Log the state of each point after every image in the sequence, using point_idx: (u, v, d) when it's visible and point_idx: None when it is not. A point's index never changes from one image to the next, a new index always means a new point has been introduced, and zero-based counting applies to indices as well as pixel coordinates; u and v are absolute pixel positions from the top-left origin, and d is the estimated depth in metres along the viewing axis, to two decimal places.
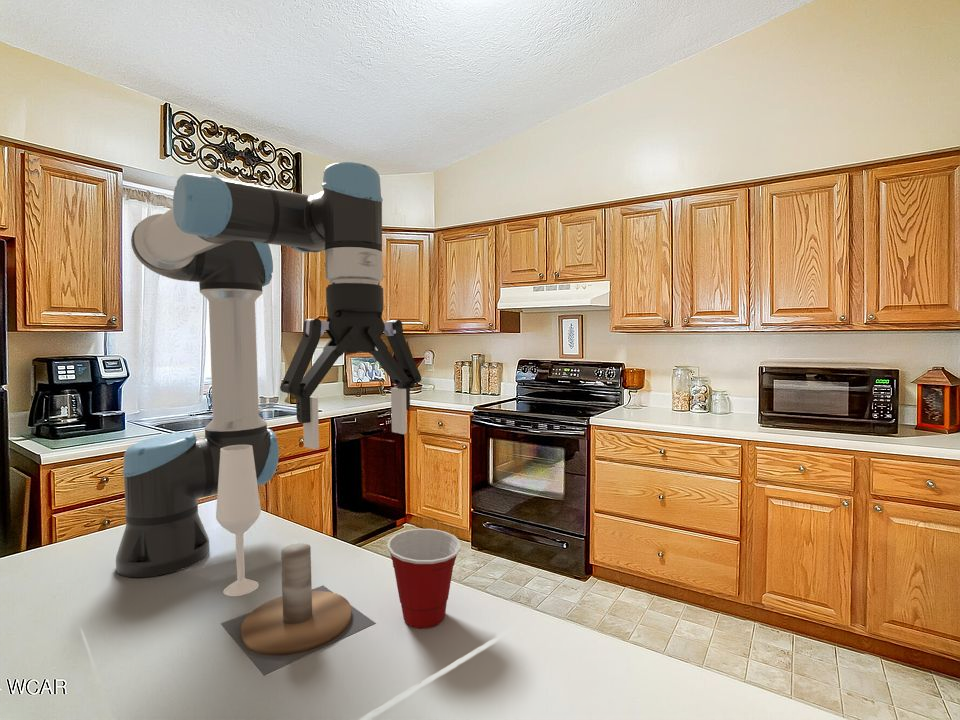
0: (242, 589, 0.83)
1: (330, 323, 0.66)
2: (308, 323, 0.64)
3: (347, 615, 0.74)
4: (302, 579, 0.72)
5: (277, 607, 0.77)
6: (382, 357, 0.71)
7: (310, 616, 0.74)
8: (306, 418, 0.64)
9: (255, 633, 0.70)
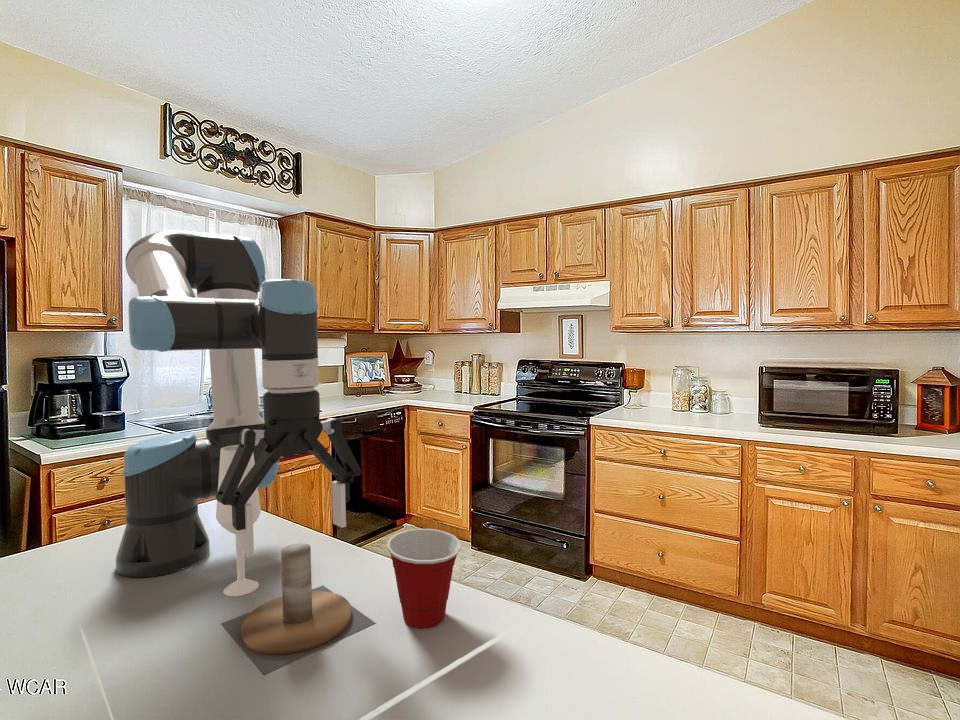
0: (242, 589, 0.83)
1: (265, 432, 0.69)
2: (243, 434, 0.68)
3: (347, 615, 0.74)
4: (302, 579, 0.72)
5: (277, 607, 0.77)
6: (320, 456, 0.75)
7: (310, 616, 0.74)
8: (241, 525, 0.67)
9: (255, 633, 0.70)
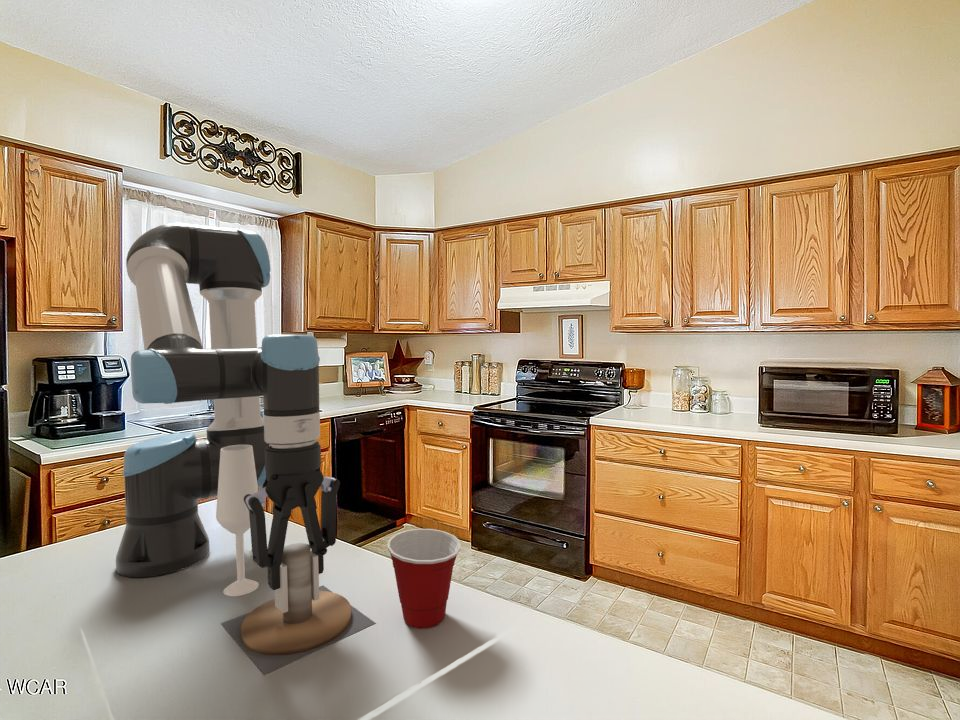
0: (242, 589, 0.83)
1: (266, 491, 0.70)
2: (247, 503, 0.69)
3: (347, 615, 0.74)
4: (302, 578, 0.72)
5: None
6: (307, 515, 0.74)
7: (310, 616, 0.74)
8: (276, 585, 0.71)
9: (255, 633, 0.70)
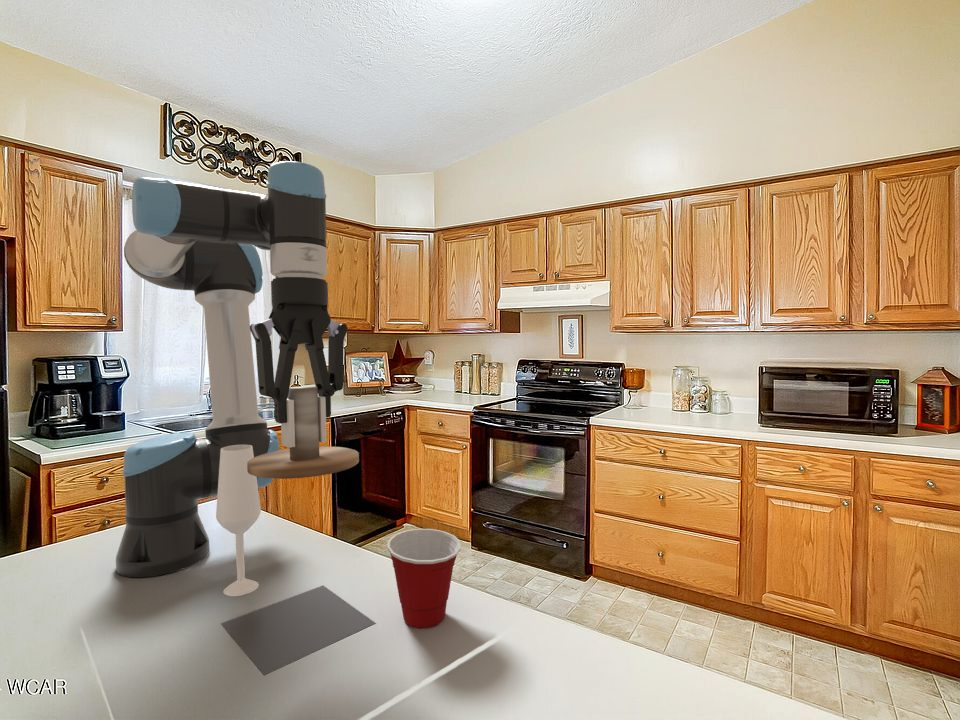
0: (242, 589, 0.83)
1: (273, 319, 0.69)
2: (253, 329, 0.68)
3: (355, 456, 0.73)
4: (309, 415, 0.71)
5: (284, 453, 0.75)
6: (314, 354, 0.73)
7: (317, 456, 0.72)
8: (283, 419, 0.70)
9: (261, 464, 0.69)
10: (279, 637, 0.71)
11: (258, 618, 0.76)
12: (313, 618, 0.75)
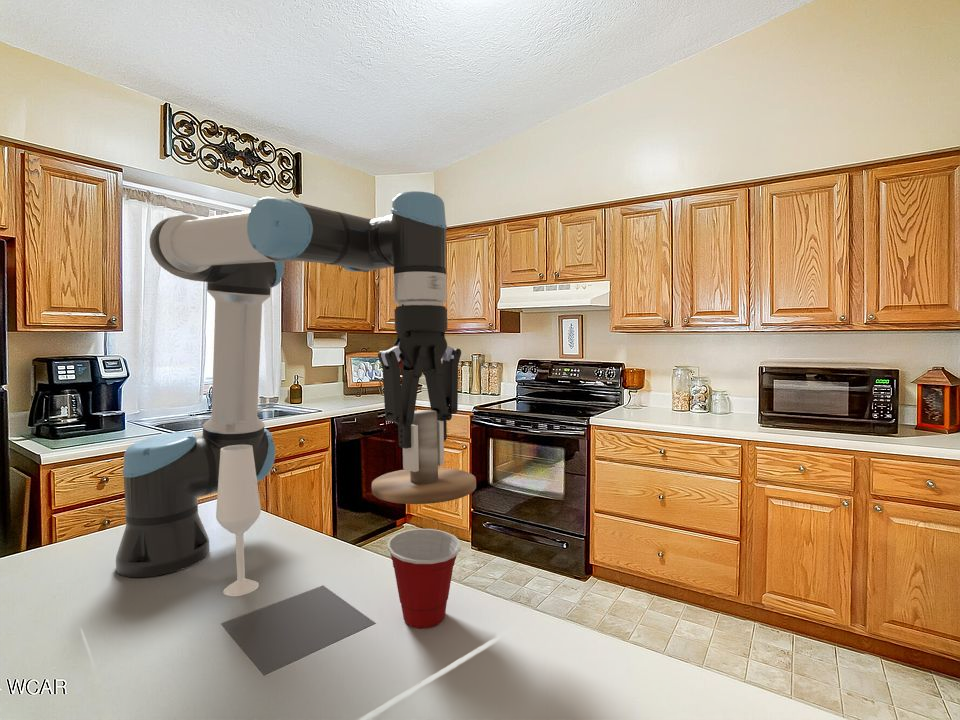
0: (242, 589, 0.83)
1: (400, 347, 0.70)
2: (383, 357, 0.69)
3: (473, 479, 0.74)
4: (432, 439, 0.72)
5: (399, 476, 0.77)
6: (434, 379, 0.74)
7: (437, 479, 0.74)
8: (408, 444, 0.71)
9: (389, 489, 0.70)
10: (279, 637, 0.71)
11: (258, 618, 0.76)
12: (313, 618, 0.75)
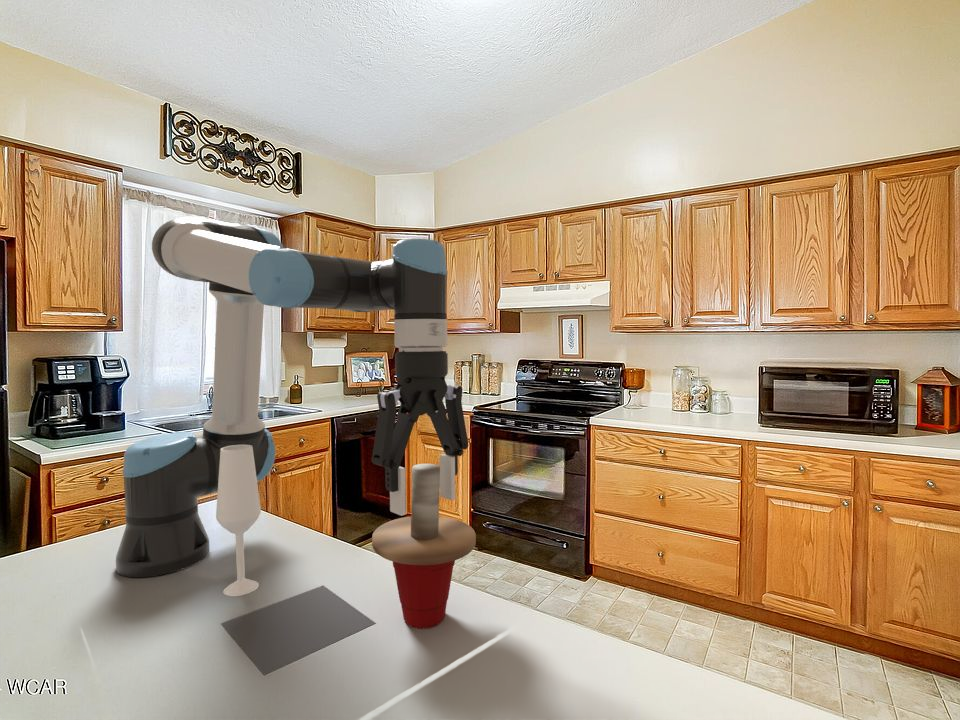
0: (242, 589, 0.83)
1: (401, 391, 0.70)
2: (382, 398, 0.69)
3: (473, 535, 0.75)
4: (434, 496, 0.73)
5: (400, 526, 0.77)
6: (439, 421, 0.75)
7: (437, 534, 0.74)
8: (395, 487, 0.70)
9: (389, 545, 0.70)
10: (279, 637, 0.71)
11: (258, 618, 0.76)
12: (313, 618, 0.75)
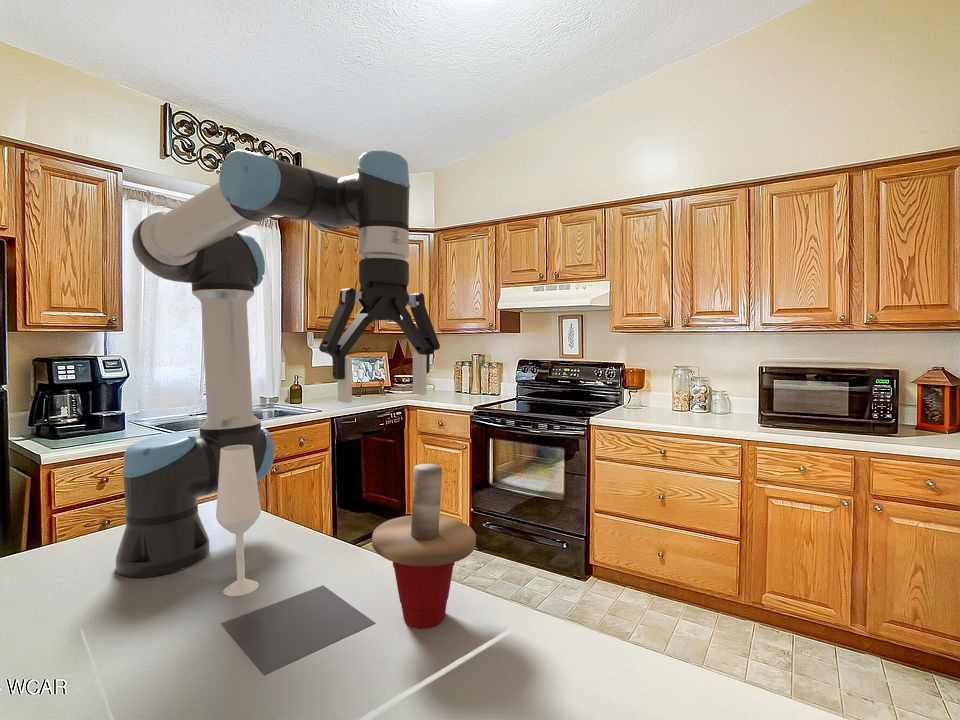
0: (242, 589, 0.83)
1: (363, 293, 0.75)
2: (344, 291, 0.73)
3: (473, 537, 0.75)
4: (435, 497, 0.73)
5: (400, 525, 0.77)
6: (406, 325, 0.80)
7: (438, 535, 0.74)
8: (341, 375, 0.73)
9: (390, 545, 0.70)
10: (279, 637, 0.71)
11: (258, 618, 0.76)
12: (313, 618, 0.75)
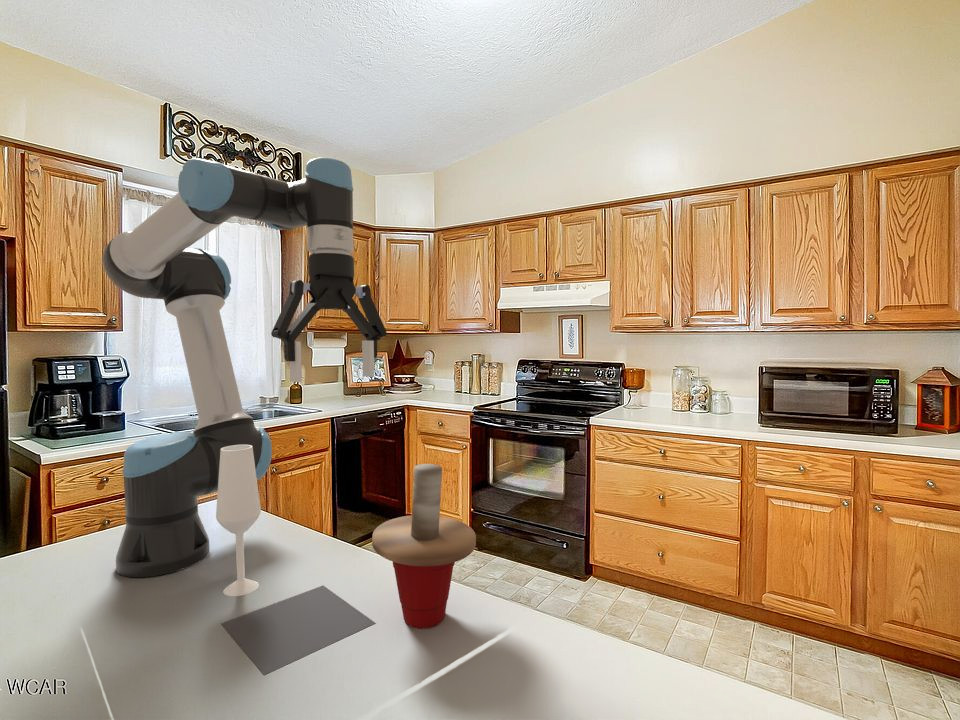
0: (242, 589, 0.83)
1: (311, 284, 0.84)
2: (293, 283, 0.82)
3: (474, 537, 0.75)
4: (435, 497, 0.73)
5: (400, 526, 0.77)
6: (353, 314, 0.89)
7: (438, 535, 0.74)
8: (291, 357, 0.82)
9: (390, 545, 0.70)
10: (279, 637, 0.71)
11: (258, 618, 0.76)
12: (313, 618, 0.75)
